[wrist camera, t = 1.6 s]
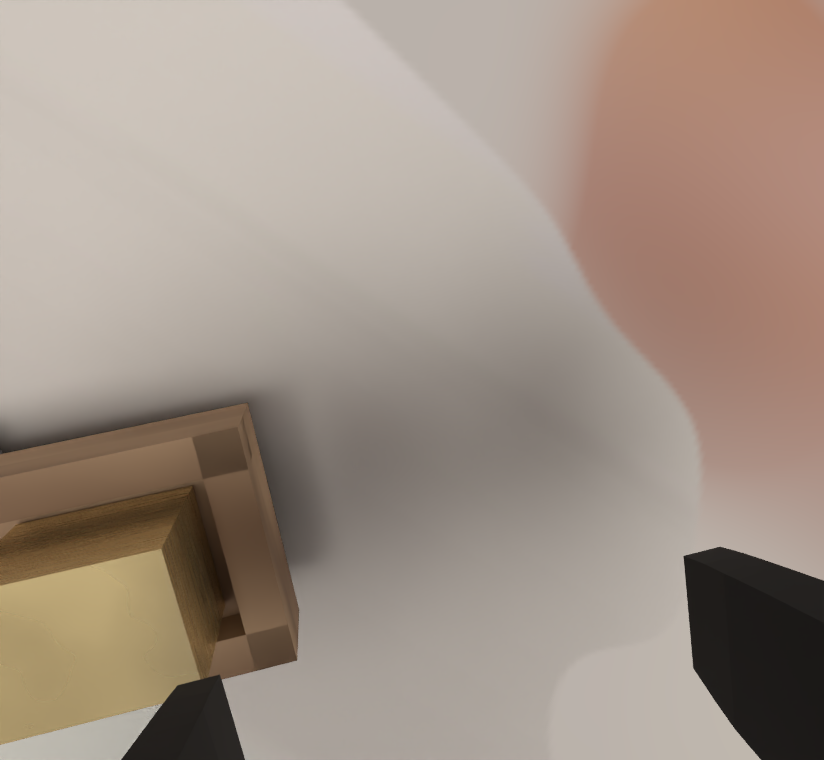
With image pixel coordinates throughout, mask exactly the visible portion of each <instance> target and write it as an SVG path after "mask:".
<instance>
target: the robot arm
mask: <svg viewBox="0 0 824 760" xmlns="http://www.w3.org/2000/svg"><path fill="white" fill-rule="evenodd" d="M684 565H685V577H686V588H687V600H688V611H689V622H690V634H691V645H692V657H693V668H694V670H695V671H696V673H697V674H698V676H699V677H700V679H701V680H702V682H703V683H704V685H705V686H706V687H707V689H708V691H709V692H710V694H711V695H712V697H713V698H714V700H715V701H716V703H717V704H718V706H719V707H720V708H721V710H722V711H723V713H724V714H725V715H726V717H727V718H728V720H729V721H730V723H731V724H732V725H733V727H734V728H735V730H736V731H737V732H738V733H739V734H740V736H741V737H742V738H743V739H744V740H745V741H746V743H747V744H748V745H749V746H750V747H751V749H752V750H753V751H754V752H755V753H756V754H757V755H758V757H759V758H760V759H761V760H824V581H823V580H820V579H817V578H814V577H811V576H808V575H806V574H803V573H800V572H797V571H794V570H791V569H789V568H785V567H783V566H780V565H777V564H774V563H771V562H768V561H765V560H762V559H759V558H756V557H753V556H750V555H747V554H744V553H740V552H737V551H734V550H730V549H726V548H722V547H717V548H714V549H710V550H706V551H702V552H698V553H694V554H690V555H686V556H684ZM121 760H245V758H244V755H243V751H242V748H241V745H240V741H239V738H238V734H237V731H236V728H235V724H234V721H233V717H232V714H231V711H230V707H229V704H228V700H227V697H226V694H225V690H224V687H223V683H222V680H221V677H220V675H216V676H212V677H208V678H204V679H200V680H196V681H192V682H189V683H185V684H181V685H177V686H176V688H175V689H174V690H173V691H172V693H171V694H170V695H169V696H168V698H167V699H166V700H165V702H164V703H163V704H162V706H161V707H160V708H159V710H158V711H157V712H156V714H155V715H154V716H153V718H152V719H151V720H150V722H149V723H148V725H147V726H146V727H145V729H144V730H143V731H142V733H141V734H140V735H139V737H138V738H137V739H136V741H135V742H134V743H133V745H132V746H131V748H130V749H129V750H128V752H127V753H126V754H125V756H124V757H123V758H122V759H121Z"/></svg>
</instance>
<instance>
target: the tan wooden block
mask: <svg viewBox="0 0 824 760" xmlns="http://www.w3.org/2000/svg"><path fill="white" fill-rule="evenodd" d="M225 605H226V604H225V600H224V597H223V593H222V590H221V586H220V583H219V579H218V575H217V572H216V568H215V565H214V561H213V557H212V554H211V550H210V547H209V543H208V540H207V536H206V532H205V529H204V525H203V522H202V518H201V514H200V511H199V507H198V504H197V500H196V497H195V493H194V489H193V486H189V487H184V488H180V489H175V490H171V491H166V492H162V493H157V494H153V495H148V496H144V497H139V498H135V499H130V500H125V501H121V502H116V503H112V504H107V505H103V506H98V507H94V508H89V509H85V510H80V511H76V512H71V513H66V514H62V515H57V516H53V517H48V518H44V519H39V520H35V521H30V522H26V523H21V524H16V525H15V526H14V527H13V528H12V529H11V530H10V531H9V532H8V533H7V534H6V535H5V536H4V537H3V538H2V539H0V745H1V744H5V743H9V742H13V741H17V740H21V739H25V738H28V737H32V736H36V735H40V734H44V733H48V732H52V731H56V730H60V729H64V728H68V727H72V726H75V725H79V724H83V723H87V722H91V721H95V720H99V719H103V718H107V717H111V716H115V715H119V714H123V713H126V712H130V711H134V710H138V709H142V708H146V707H150V706H154V705H158V704H162V703H164V702H165V700H166V699H167V698H168V696H169V695H170V694H171V693H172V691H173V690H174V689H175V688H176V686H177V685H181V684H185V683H189V682H192V681H196V680H200V679H204V678H208V675H209V671H210V667H211V663H212V658H213V654H214V650H215V646H216V642H217V638H218V634H219V629H220V625H221V621H222V617H223V613H224V609H225Z"/></svg>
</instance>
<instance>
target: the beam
mask: <svg viewBox="0 0 824 760" xmlns="http://www.w3.org/2000/svg"><path fill="white" fill-rule="evenodd" d="M189 486H193V489H194V493H195V497H196V500H197V504H198V507H199V511H200V514H201V518H202V522H203V525H204V529H205V532H206V536H207V540H208V543H209V547H210V550H211V554H212V557H213V561H214V565H215V568H216V572H217V575H218V579H219V583H220V586H221V590H222V593H223V597H224V600H225V604H226V605H225V609H224V613H223V617H222V621H221V625H220V629H219V634H218V638H217V642H216V646H215V650H214V654H213V658H212V663H211V667H210V671H209V675H208V677H212V676H216V675H220V677H221V680H222V679H225V678H229V677H233V676H237V675H241V674H245V673H249V672H253V671H257V670H261V669H265V668H269V667H273V666H277V665H281V664H285V663H289V662H292V661H296V660H297V650H298V624H299V607H298V603H297V599H296V595H295V591H294V587H293V583H292V579H291V575H290V571H289V567H288V563H287V559H286V555H285V551H284V547H283V543H282V539H281V535H280V531H279V527H278V523H277V519H276V515H275V511H274V507H273V503H272V499H271V495H270V491H269V487H268V483H267V479H266V475H265V471H264V467H263V463H262V459H261V455H260V451H259V447H258V443H257V439H256V435H255V431H254V427H253V423H252V419H251V415H250V410H249V406H248V403H244V404H239V405H234V406H230V407H225V408H220V409H215V410H210V411H206V412H201V413H196V414H191V415H186V416H182V417H177V418H172V419H167V420H162V421H158V422H153V423H148V424H143V425H139V426H134V427H129V428H124V429H119V430H115V431H110V432H105V433H100V434H95V435H91V436H86V437H81V438H76V439H71V440H67V441H62V442H57V443H52V444H47V445H43V446H38V447H33V448H28V449H23V450H19V451H14V452H9V453H4V454H2V452H1V449H0V539H2V538H3V537H4V536H5V535H6V534H7V533H8V532H9V531H10V530H11V529H12V528H13V527H14V526H15V525H16V524H21V523H26V522H30V521H35V520H39V519H44V518H48V517H53V516H57V515H62V514H66V513H71V512H76V511H80V510H85V509H89V508H94V507H98V506H103V505H107V504H112V503H116V502H121V501H125V500H130V499H135V498H139V497H144V496H148V495H153V494H157V493H162V492H166V491H171V490H175V489H180V488H184V487H189Z"/></svg>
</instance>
